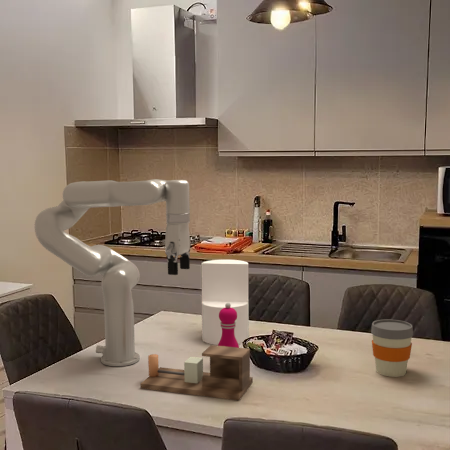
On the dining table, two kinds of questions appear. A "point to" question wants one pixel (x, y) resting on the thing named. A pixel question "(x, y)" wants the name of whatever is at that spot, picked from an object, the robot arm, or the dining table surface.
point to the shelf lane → (210, 375)
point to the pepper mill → (228, 326)
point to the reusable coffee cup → (391, 346)
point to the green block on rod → (191, 372)
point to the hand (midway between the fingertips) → (179, 271)
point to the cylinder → (224, 298)
